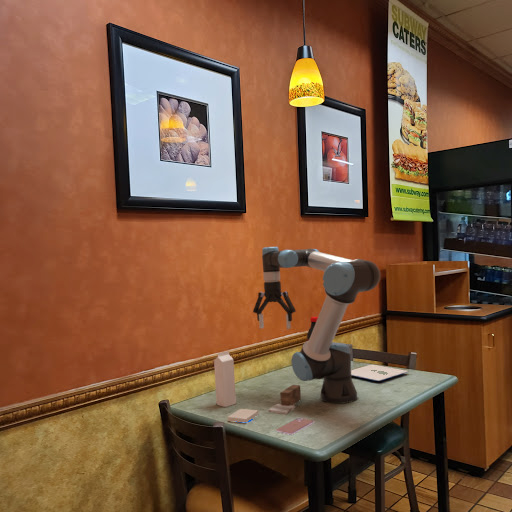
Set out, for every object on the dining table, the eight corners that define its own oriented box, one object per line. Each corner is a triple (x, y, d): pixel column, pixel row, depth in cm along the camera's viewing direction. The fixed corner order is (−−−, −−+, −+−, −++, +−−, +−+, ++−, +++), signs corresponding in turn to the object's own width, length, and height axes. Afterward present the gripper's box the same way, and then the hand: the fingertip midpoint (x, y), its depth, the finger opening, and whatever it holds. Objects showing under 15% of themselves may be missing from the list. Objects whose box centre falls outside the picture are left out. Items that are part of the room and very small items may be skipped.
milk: (216, 404, 199) (213, 352, 199) (227, 401, 203) (224, 350, 203) (225, 407, 194) (221, 354, 194) (236, 403, 198) (233, 351, 198)
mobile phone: (273, 429, 164) (298, 416, 175) (273, 432, 164) (298, 419, 175) (291, 433, 159) (315, 420, 170) (291, 436, 159) (315, 423, 170)
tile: (258, 410, 182) (246, 419, 173) (258, 416, 182) (246, 425, 173) (240, 408, 186) (227, 416, 177) (240, 414, 185) (227, 422, 177)
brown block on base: (288, 398, 201) (287, 384, 201) (305, 400, 197) (305, 385, 198) (268, 412, 185) (267, 397, 185) (286, 414, 181) (285, 398, 181)
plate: (379, 384, 214) (378, 380, 214) (342, 376, 232) (342, 372, 232) (408, 375, 228) (408, 370, 228) (372, 368, 246) (371, 364, 246)
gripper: (301, 279, 208) (303, 327, 208) (252, 281, 220) (254, 326, 220) (294, 281, 202) (297, 330, 202) (244, 282, 214) (246, 329, 214)
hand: (275, 328), depth 211 cm, fingers open, 13 cm apart
